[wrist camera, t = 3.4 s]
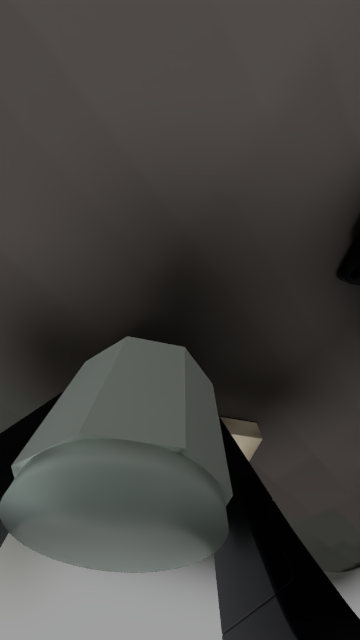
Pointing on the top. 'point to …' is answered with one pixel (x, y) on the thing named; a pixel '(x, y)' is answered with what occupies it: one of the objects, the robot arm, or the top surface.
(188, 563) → the cap
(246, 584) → the robot arm
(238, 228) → the top surface
